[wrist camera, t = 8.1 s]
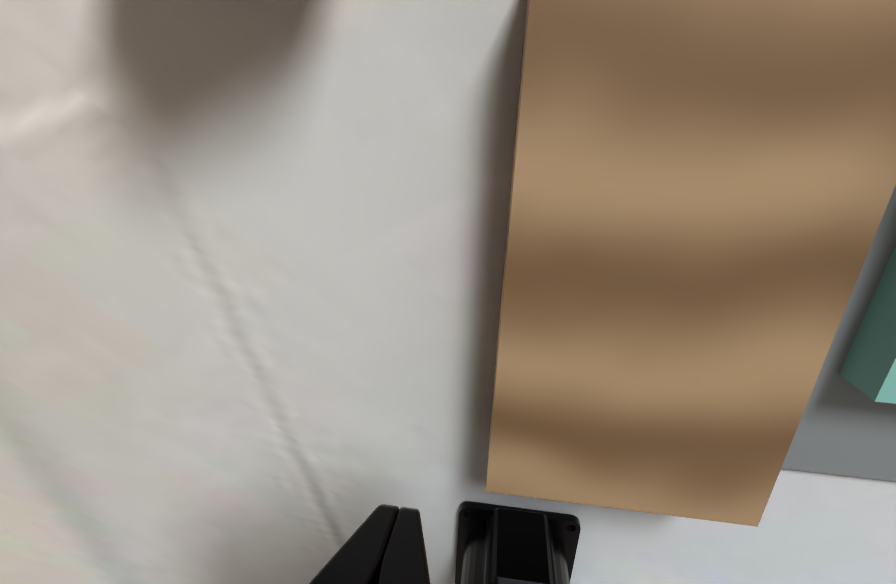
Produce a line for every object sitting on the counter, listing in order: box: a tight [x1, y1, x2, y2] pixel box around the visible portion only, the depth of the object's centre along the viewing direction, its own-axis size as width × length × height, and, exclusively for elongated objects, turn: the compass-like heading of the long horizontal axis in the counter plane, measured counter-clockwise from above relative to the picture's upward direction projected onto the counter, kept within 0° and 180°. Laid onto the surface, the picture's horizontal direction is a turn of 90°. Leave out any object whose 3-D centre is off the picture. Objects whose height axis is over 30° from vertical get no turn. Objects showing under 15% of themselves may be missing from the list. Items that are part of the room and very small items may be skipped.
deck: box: [486, 0, 896, 527], centre depth 17 cm, size 20×11×4 cm, turn 178°
